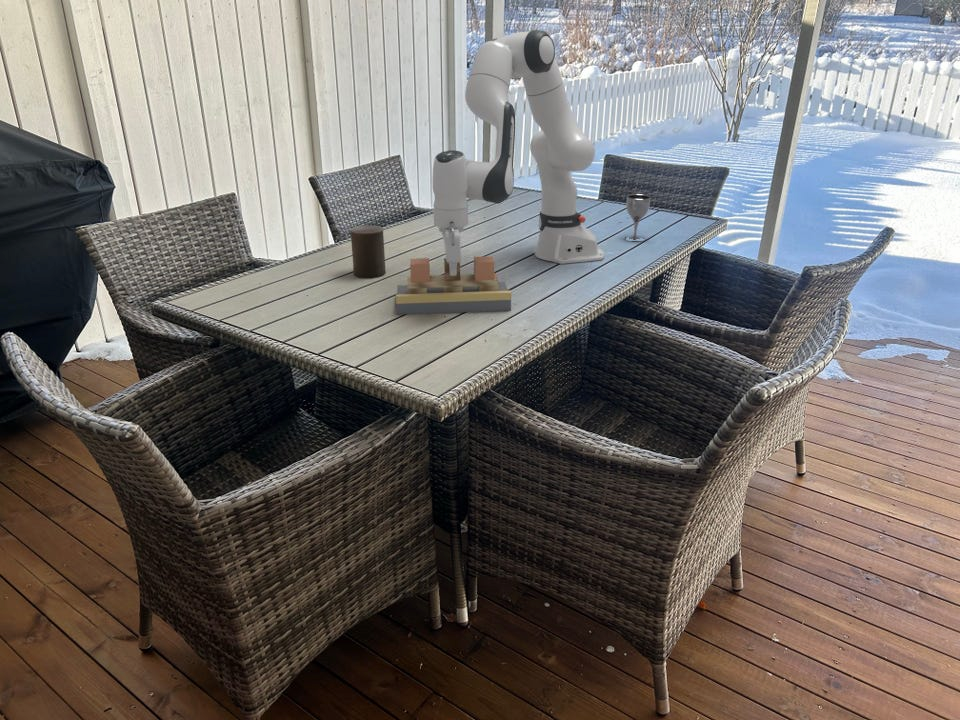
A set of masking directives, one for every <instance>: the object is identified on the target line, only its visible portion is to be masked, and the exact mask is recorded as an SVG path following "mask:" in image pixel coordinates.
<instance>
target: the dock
mask: <svg viewBox="0 0 960 720" xmlns="http://www.w3.org/2000/svg"><path fill="white" fill-rule="evenodd" d="M395 303H396V304H395V306H396V315H420V314H445V313H446V314H447V313H449V314H451V313H452V314H453V313H472V312H473V313H474V312H475V313H476V312H477V313H478V312H503V311H505V312H506V310H507V311H512V291H511V290H508V287H507V285H506V282H505V281H498V291H485V292H479V291H478V286H470V287H463V292H455V293H444V292H443V287H440V288H427V293H426V294H408V286H407V284H401V285H397V288H396V294H395Z"/></svg>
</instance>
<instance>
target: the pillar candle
mask: <svg viewBox="0 0 960 720" xmlns="http://www.w3.org/2000/svg"><path fill="white" fill-rule="evenodd" d="M350 239H351V240H350V241H351V251H352V252H351V253H352V265H353V266H352V269H353V270H352V271H353V274H354V276H355V277H357V278H361V279H362V278H363V279H364V278H365V279H375V278H379V277H382V276H385V274H386V253H385V239H384V228H383V227H381V226H379V225H359V226H358V225H357V226H354V227H352V228H351V229H350Z"/></svg>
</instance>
